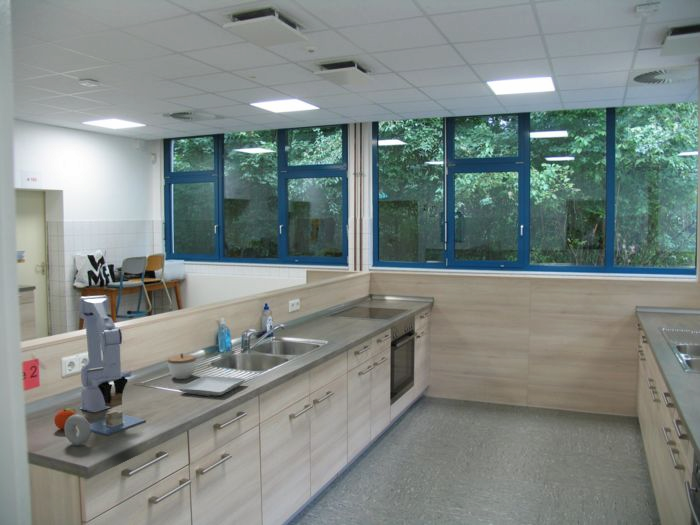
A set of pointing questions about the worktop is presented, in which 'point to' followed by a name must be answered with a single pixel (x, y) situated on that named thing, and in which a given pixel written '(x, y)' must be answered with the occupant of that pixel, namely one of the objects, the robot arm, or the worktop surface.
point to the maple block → (114, 417)
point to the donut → (82, 426)
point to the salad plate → (211, 385)
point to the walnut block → (115, 400)
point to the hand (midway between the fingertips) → (113, 400)
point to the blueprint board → (108, 429)
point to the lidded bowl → (182, 366)
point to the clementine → (63, 417)
